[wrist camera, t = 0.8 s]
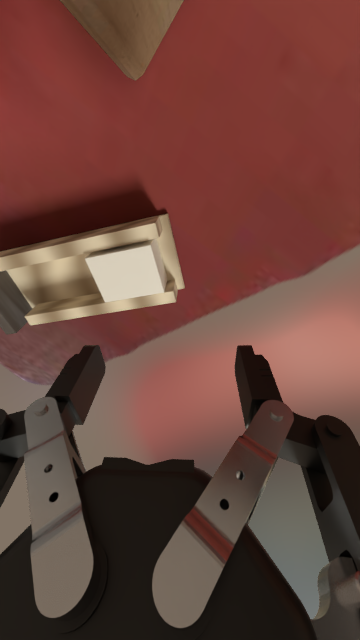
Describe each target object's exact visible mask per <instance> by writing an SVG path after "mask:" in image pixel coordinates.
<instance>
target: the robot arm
mask: <svg viewBox="0 0 360 640" xmlns="http://www.w3.org/2000/svg"><path fill="white" fill-rule="evenodd" d="M104 374H105V362H104V359H103V356H102V353H101V350H100V347H99V346H98V345H85V346H84V347H83V348H82V350H81V352H80V353H79V354H75V355H74V356H73V357H72V358H70V359H69V360H68V361H67V363H66V365H65V366H64V369H62V371H61V372H60V375H59V376H58V377H57V379H56V380H55V382H54V383H53V385H52V387H51V388H50V390H49V391H48V393H47V394H46V396H45V397H43V398H40V399H38V400H36V401H35V402H33V403H32V404H31V405H30V406H29V407H28V408H27V409H26V410H24V411H20V412H16V413H13V414H9V415H8V414H7V413H6V412H5V411H4V410H2V409H0V507H1V505H2V504H3V502H4V499H5V498H6V496H7V494H8V492H9V490H10V488H11V486H12V484H13V482H14V480H15V478H16V476H17V474H18V472H19V470H20V468H21V466H22V465H23V463H24V462H25V470H26V480H27V489H28V498H29V508H30V517H31V525H30V526H29V527H28V528H27V529H26V530H25V531H24V532H23V533H22V534H21V535H20V536H19V537H18V538H17V539H16V540H15V541H14V542H13V543H11V544H10V546H8V548H6V550H4V551H3V552H2V554H0V640H360V446H359V444H358V442H357V440H356V438H355V436H354V434H353V432H352V431H351V429H350V428H349V427H348V426H347V425H346V424H345V423H344V422H342V421H341V420H340V419H338V418H336V417H333V416H329V415H322V416H320V417H318V418H317V419H316V420H314V419H310V418H307V417H303V416H300V415H298V414H296V413H294V412H292V411H291V409H290V408H289V407H288V406H287V405H286V404H284V403H283V401H282V398H281V396H280V393H279V390H278V388H277V385H276V382H275V379H274V377H273V374H272V372H271V369H270V366H269V363H268V361H267V360H266V359H265V358H264V357H263V356H262V355H255V354H254V351H253V348H252V346H251V345H246V346H245V345H244V346H237V352H236V361H235V376H236V381H237V387H238V392H239V397H240V402H241V406H242V412H243V417H244V422H245V427H246V431H245V433H244V434H243V435H242V436H239V437H238V439H237V440H236V441H235V443H234V445H233V446H232V448H231V449H230V451H229V452H228V454H227V455H226V457H225V459H224V460H223V462H222V463H221V465H220V466H219V468H218V470H217V471H216V473H215V474H214V476H213V477H212V476H210V475H209V474H208V473H206V472H205V471H203V470H201V469H199V468H196V467H194V460H178V459H177V460H176V459H171V460H167V461H163V462H159V463H155V464H151V465H145V464H142V463H139V462H136V461H133V460H131V459H128V458H113V457H111V458H110V457H104V460H103V463H102V465H99V466H97V467H94V468H92V469H90V470H88V471H87V472H86V469H85V467H84V465H83V462H82V459H81V456H80V453H79V449H78V446H77V443H76V440H75V436H74V433H73V431H72V430H73V428H74V425H83V423H84V421H85V419H86V417H87V414H88V412H89V409H90V407H91V405H92V402H93V400H94V398H95V395H96V393H97V390H98V388H99V386H100V383H101V381H102V378H103V376H104ZM278 458H282V459H285V460H287V461H290V462H293V463H296V464H298V465H301V468H302V472H303V475H304V478H305V482H306V485H307V488H308V492H309V495H310V499H311V502H312V505H313V509H314V512H315V515H316V519H317V522H318V525H319V529H320V532H321V535H322V539H323V542H324V545H325V549H326V553H327V556H328V559H329V564H327V565H326V566H324V567H323V568H322V569H321V571H320V572H319V575H318V591H319V601H320V602H319V609H318V613H317V615H316V616H315V618H314V619H310V617H309V615H308V614H307V612H306V609H305V608H304V606H303V604H302V602H301V601H300V599H299V598H298V596H297V595H296V593H295V592H294V590H293V589H292V588H291V586H290V585H289V583H288V582H287V581H286V579H285V578H284V576H283V575H282V573H281V572H280V571H279V569H278V568H277V566H276V565H275V563H274V562H273V560H272V559H271V558H270V556H269V555H268V553H267V552H266V550H265V549H264V548H263V546H262V545H261V543H260V542H259V540H258V539H257V537H256V536H255V535H254V533H253V532H252V530H251V529H250V527H249V526H248V524H249V522H250V520H251V517H252V515H253V513H254V511H255V509H256V506H257V504H258V502H259V500H260V497H261V495H262V493H263V491H264V488H265V485H266V484H267V482H268V479H269V477H270V475H271V473H272V471H273V469H274V467H275V464H276V462H277V460H278Z"/></svg>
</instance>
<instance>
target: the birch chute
mask: <svg viewBox="0 0 360 640" xmlns="http://www.w3.org/2000/svg"><path fill="white" fill-rule="evenodd" d="M156 238H157V242H158V246H159V249H160V253H161V257H162V260H163V264H164V268H165V272H166V275H167V283H166V287H165V291H164V293H159V294H153V295H147V296H141V297H135V298H129V299H123V300H117V301H111V302H106V303H105V301H104V299H103V297H102V295H101V293H100V290H99V288H98V286H97V284H96V282H95V280H94V278H93V275H92V273H91V271H90V269H89V267H88V265H87V263H86V260H85V258H86V257H87V256H88V255H89V254H91V253H92V252H95V251H100V250H104V249H109V248H114V247H118V246H123V245H128V244H133V243H137V242H142V241H147V240H151V239H156ZM183 288H185V286H184V281H183V277H182V272H181V268H180V264H179V259H178V255H177V251H176V246H175V242H174V238H173V233H172V229H171V224H170V220H169V216H168V213H167V214H162V215H158V216H153V217H149V218H145V219H140V220H136V221H132V222H127V223H123V224H119V225H114V226H110V227H105V228H101V229H97V230H92V231H88V232H84V233H79V234H75V235H70V236H66V237H62V238H57V239H53V240H49V241H44V242H40V243H36V244H31V245H27V246H22V247H18V248H14V249H9V250H5V251H1V252H0V327H1V328H2V329H3V331H4V332H5V333H6V334H13V333H17V332H18V331H19V330H20V329H21V328H22V327H23V326H24V325H25V324H26V323H27V322H29V324H30V325H36V324H42V323H49V322H55V321H61V320H67V319H73V318H80V317H86V316H92V315H98V314H105V313H111V312H117V311H123V310H129V309H136V308H142V307H148V306H154V305H160V304H167V303H173V302H176V298H177V291H178V289H183Z"/></svg>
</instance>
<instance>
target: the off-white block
mask: <svg viewBox="0 0 360 640" xmlns="http://www.w3.org/2000/svg"><path fill="white" fill-rule="evenodd" d="M85 260H86V263H87V265H88V267H89V269H90V271H91V273H92V275H93V278H94V280H95V282H96V284H97V286H98V288H99V290H100V293H101V295H102V297H103V299H104V301H105V303H106V302H111V301H117V300H123V299H129V298H135V297H141V296H147V295H153V294H159V293H164V291H165V287H166V283H167V275H166V272H165V268H164V264H163V260H162V257H161V253H160V249H159V246H158V242H157V238H156V239H151V240H147V241H142V242H137V243H133V244H128V245H123V246H118V247H114V248H109V249H104V250H100V251H95V252H92V253H91V254H89V255H88V256H87V257H86V258H85Z"/></svg>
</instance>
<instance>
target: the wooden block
mask: <svg viewBox="0 0 360 640" xmlns="http://www.w3.org/2000/svg"><path fill="white" fill-rule="evenodd" d="M60 1H61V2H62V3H63V5H64V6H65V7H66V8H67V9H68V10H69V11H70V12H71V14H72V15H73V16H74V17H75V18H76V19H77V20H78V22H79V23H80V24H81V25H82V26H83V27H84V28H85V30H86V31H87V32H88V33H89V34H90V35H91V36H92V37H93V39H94V40H95V41H96V42H97V43H98V44H99V45H100V47H101V48H102V49H103V50H104V51H105V52H106V53H107V54H108V56H109V57H110V58H111V59H112V60H113V61H114V62H115V64H116V65H117V66H118V67H119V68H120V69H121V70H122V72H123V73H124V74H125V75H126V76H127V77H129V78H131V79H133V80H135V81H136V80H137V79H138V78H140V77H141V76H142V75H143V74H144V72H145V70H146V68H147V66H148V65H149V63H150V61H151V59H152V57H153V55H154V54H155V52H156V50H157V48H158V46H159V45H160V43H161V41H162V39H163V37H164V35H165V34H166V32H167V30H168V28H169V26H170V24H171V23H172V21H173V19H174V17H175V15H176V13H177V12H178V10H179V8H180V6H181V4H182V2H183V1H184V0H60Z"/></svg>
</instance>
